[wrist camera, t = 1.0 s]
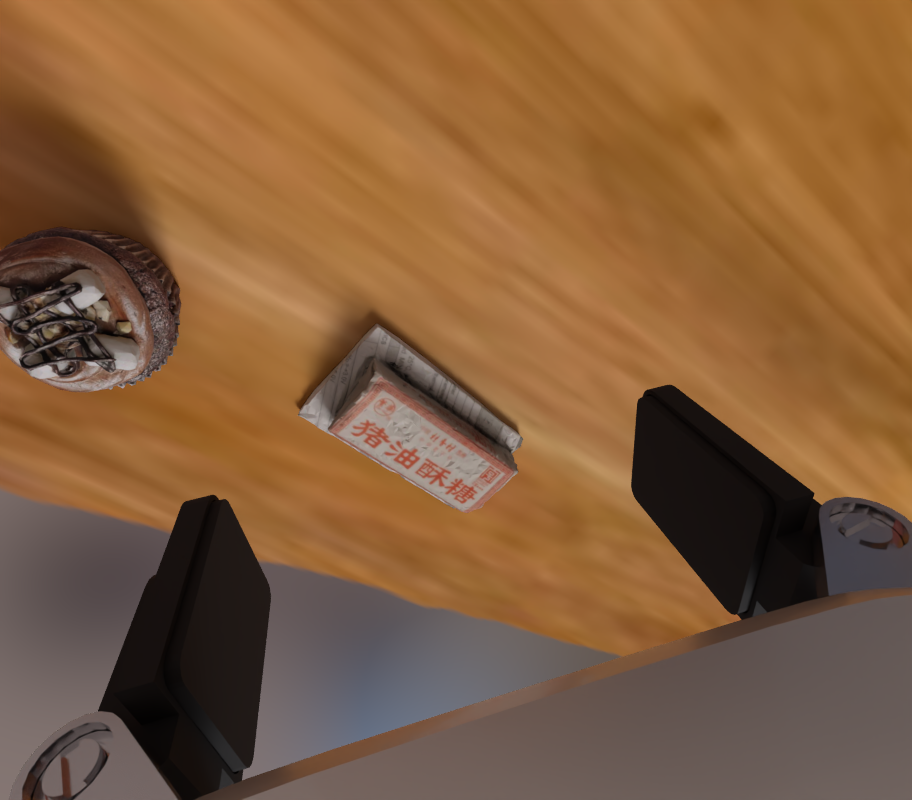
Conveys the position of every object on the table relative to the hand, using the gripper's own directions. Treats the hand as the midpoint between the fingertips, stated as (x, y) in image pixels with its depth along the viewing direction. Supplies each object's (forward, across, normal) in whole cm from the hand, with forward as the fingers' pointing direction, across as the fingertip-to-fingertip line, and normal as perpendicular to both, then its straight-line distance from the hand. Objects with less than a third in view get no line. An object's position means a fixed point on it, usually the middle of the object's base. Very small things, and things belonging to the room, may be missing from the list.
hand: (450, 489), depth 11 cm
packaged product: (+29, -1, +16) cm, 33 cm away
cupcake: (+28, +17, 0) cm, 33 cm away
